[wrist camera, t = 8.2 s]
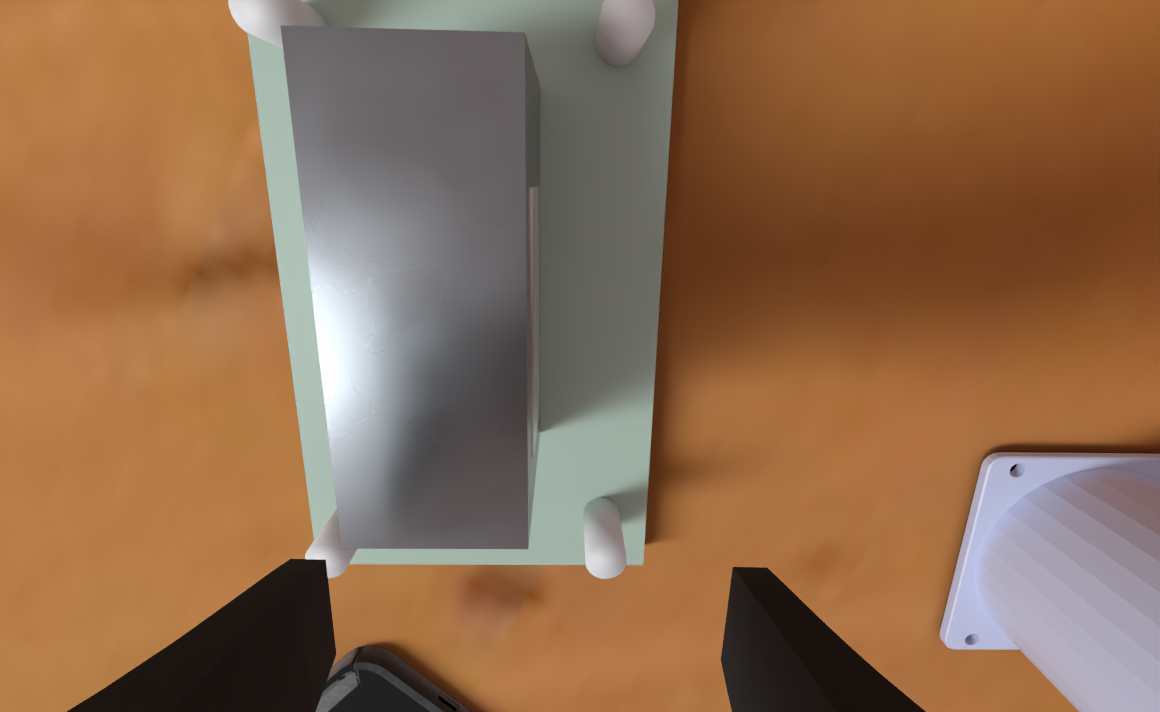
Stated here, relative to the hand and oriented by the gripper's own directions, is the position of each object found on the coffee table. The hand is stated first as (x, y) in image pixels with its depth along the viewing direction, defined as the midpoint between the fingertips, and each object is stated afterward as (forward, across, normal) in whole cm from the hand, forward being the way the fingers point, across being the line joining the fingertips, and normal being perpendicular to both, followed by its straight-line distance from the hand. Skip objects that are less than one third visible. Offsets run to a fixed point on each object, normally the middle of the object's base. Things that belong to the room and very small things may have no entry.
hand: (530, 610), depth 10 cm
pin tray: (+9, +2, -4) cm, 10 cm away
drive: (+8, +2, -5) cm, 10 cm away
